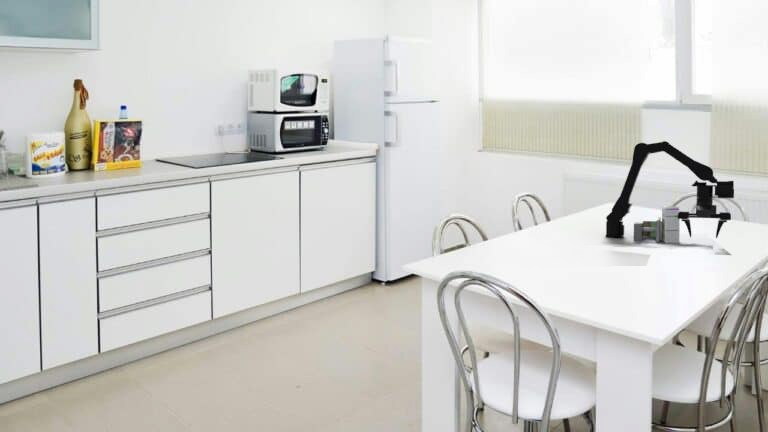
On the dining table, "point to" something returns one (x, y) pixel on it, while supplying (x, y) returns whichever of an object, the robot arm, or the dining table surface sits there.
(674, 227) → the syrup box
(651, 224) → the gauge housing
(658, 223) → the gauge plunger
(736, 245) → the dining table surface
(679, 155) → the robot arm
